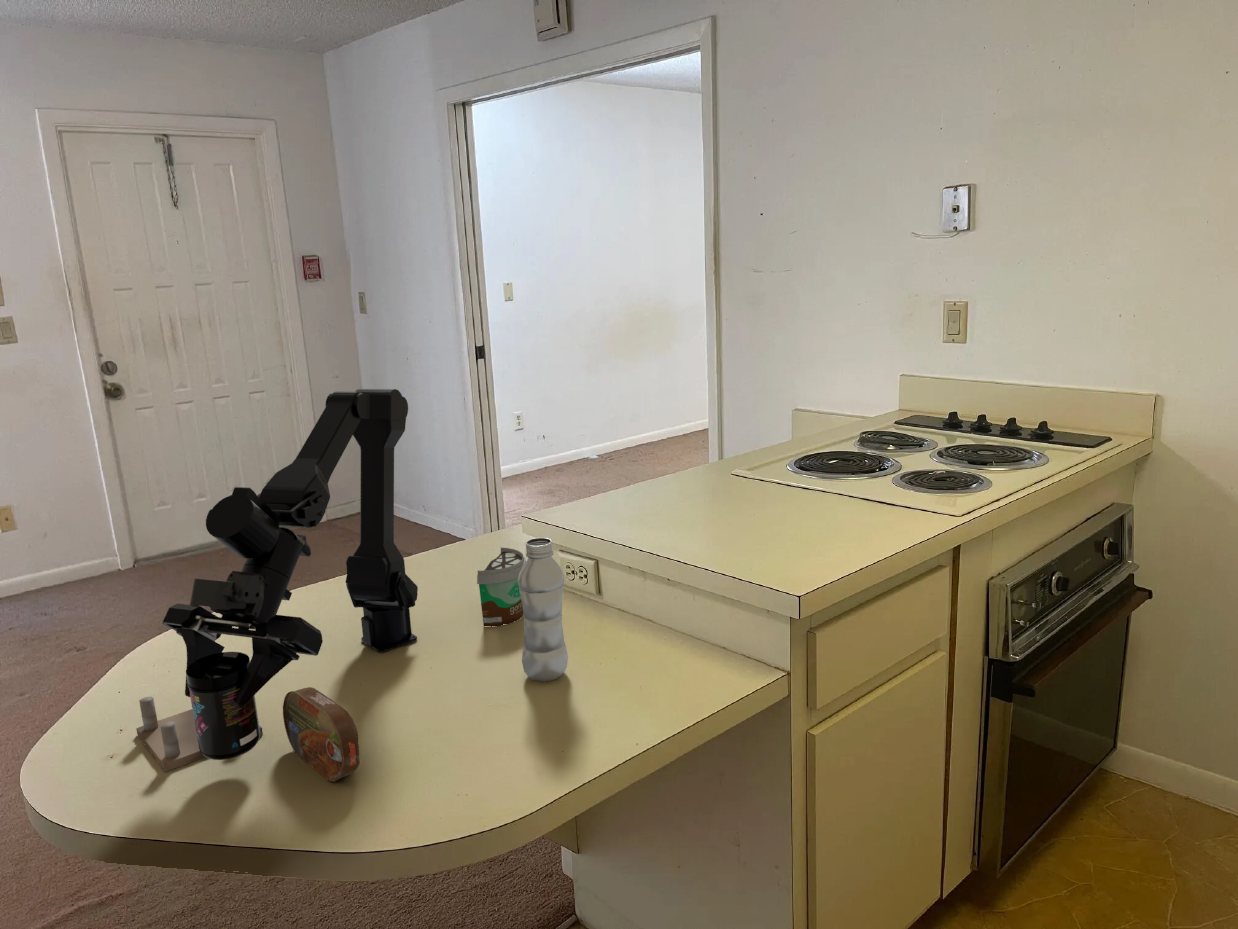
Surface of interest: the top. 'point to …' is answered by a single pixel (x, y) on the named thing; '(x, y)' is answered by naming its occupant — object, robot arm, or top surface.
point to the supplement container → (222, 706)
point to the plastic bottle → (542, 612)
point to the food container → (501, 588)
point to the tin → (321, 733)
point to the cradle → (169, 736)
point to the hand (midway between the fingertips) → (213, 700)
